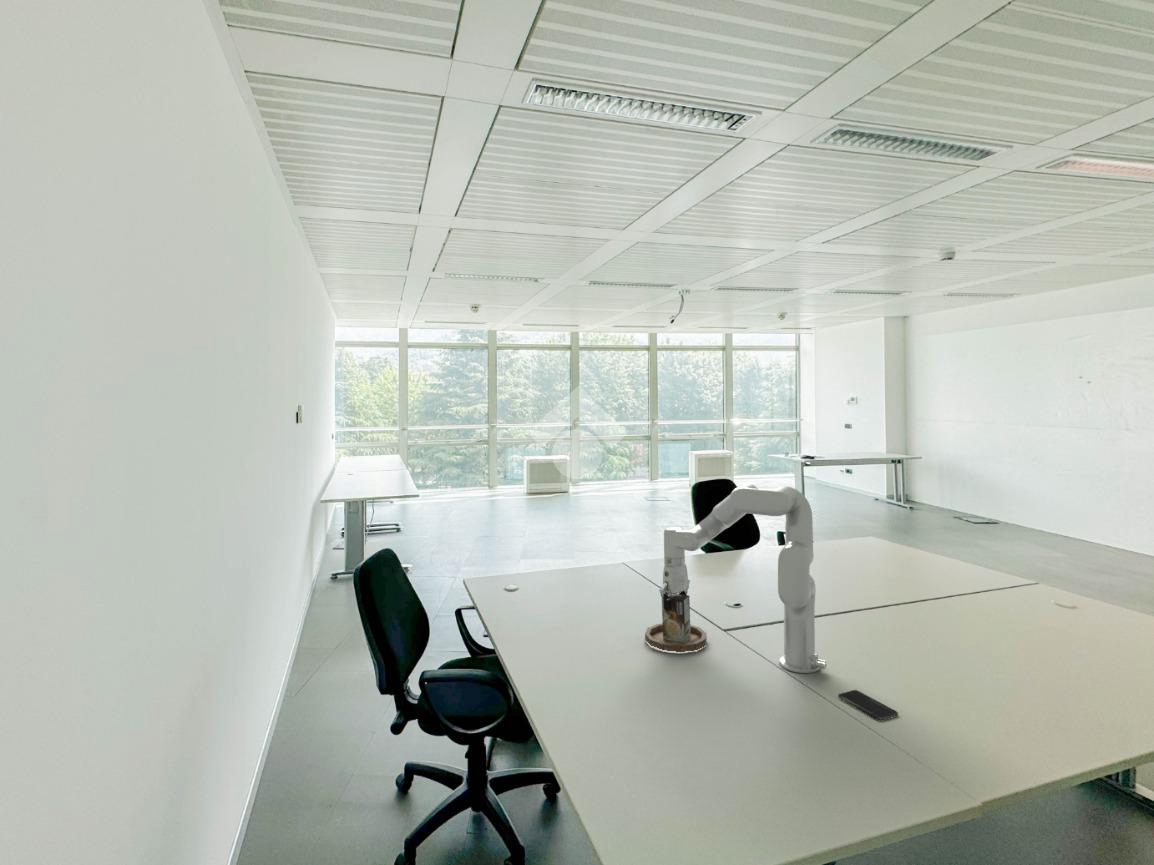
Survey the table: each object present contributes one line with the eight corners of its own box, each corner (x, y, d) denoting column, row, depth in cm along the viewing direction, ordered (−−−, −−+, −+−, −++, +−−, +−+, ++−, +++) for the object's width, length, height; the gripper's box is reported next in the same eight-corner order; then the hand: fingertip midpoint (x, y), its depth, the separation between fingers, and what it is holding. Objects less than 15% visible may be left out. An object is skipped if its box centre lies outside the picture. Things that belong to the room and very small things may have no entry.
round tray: (717, 641, 217) (717, 633, 217) (682, 659, 202) (682, 650, 202) (670, 626, 233) (670, 618, 233) (633, 642, 218) (633, 634, 218)
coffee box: (691, 637, 218) (690, 595, 218) (685, 643, 213) (684, 600, 212) (668, 633, 223) (667, 591, 222) (662, 639, 217) (661, 596, 217)
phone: (879, 719, 160) (836, 694, 174) (879, 723, 160) (836, 698, 174) (900, 713, 163) (856, 689, 177) (900, 716, 163) (856, 693, 177)
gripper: (668, 567, 208) (669, 615, 208) (696, 558, 220) (697, 603, 220) (651, 563, 213) (652, 610, 214) (680, 554, 225) (681, 599, 226)
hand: (675, 606), depth 217 cm, fingers open, 8 cm apart
